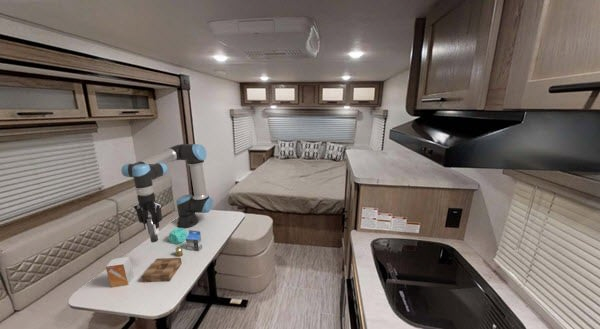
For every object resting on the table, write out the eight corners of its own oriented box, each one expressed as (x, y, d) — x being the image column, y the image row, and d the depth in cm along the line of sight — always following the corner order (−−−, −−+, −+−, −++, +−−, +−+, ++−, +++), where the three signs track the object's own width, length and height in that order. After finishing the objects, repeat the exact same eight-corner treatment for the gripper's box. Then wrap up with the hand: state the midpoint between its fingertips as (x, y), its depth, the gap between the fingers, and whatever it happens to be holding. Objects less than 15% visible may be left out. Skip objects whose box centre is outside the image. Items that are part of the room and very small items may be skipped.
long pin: (153, 239, 125) (149, 216, 121) (159, 238, 125) (155, 216, 121) (149, 242, 121) (145, 219, 118) (155, 242, 122) (151, 219, 118)
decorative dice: (188, 238, 158) (186, 228, 156) (179, 245, 150) (177, 234, 148) (178, 236, 160) (177, 226, 158) (169, 243, 152) (167, 233, 150)
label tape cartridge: (187, 249, 145) (184, 233, 142) (190, 246, 149) (188, 230, 146) (199, 251, 143) (196, 234, 140) (202, 247, 147) (200, 231, 144)
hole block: (157, 264, 132) (156, 258, 131) (181, 263, 132) (180, 257, 131) (142, 282, 118) (141, 276, 117) (169, 281, 119) (168, 275, 118)
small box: (111, 287, 115) (105, 266, 112) (117, 279, 121) (112, 258, 118) (128, 285, 117) (123, 264, 113) (134, 276, 123) (129, 256, 119)
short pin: (178, 253, 142) (177, 246, 140) (183, 253, 142) (182, 246, 140) (175, 257, 138) (174, 250, 137) (181, 256, 138) (180, 249, 137)
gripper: (124, 196, 113) (133, 237, 118) (157, 195, 113) (164, 236, 119) (134, 191, 120) (142, 230, 126) (165, 190, 120) (171, 229, 126)
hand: (153, 233), depth 122 cm, fingers closed on long pin, 3 cm apart
